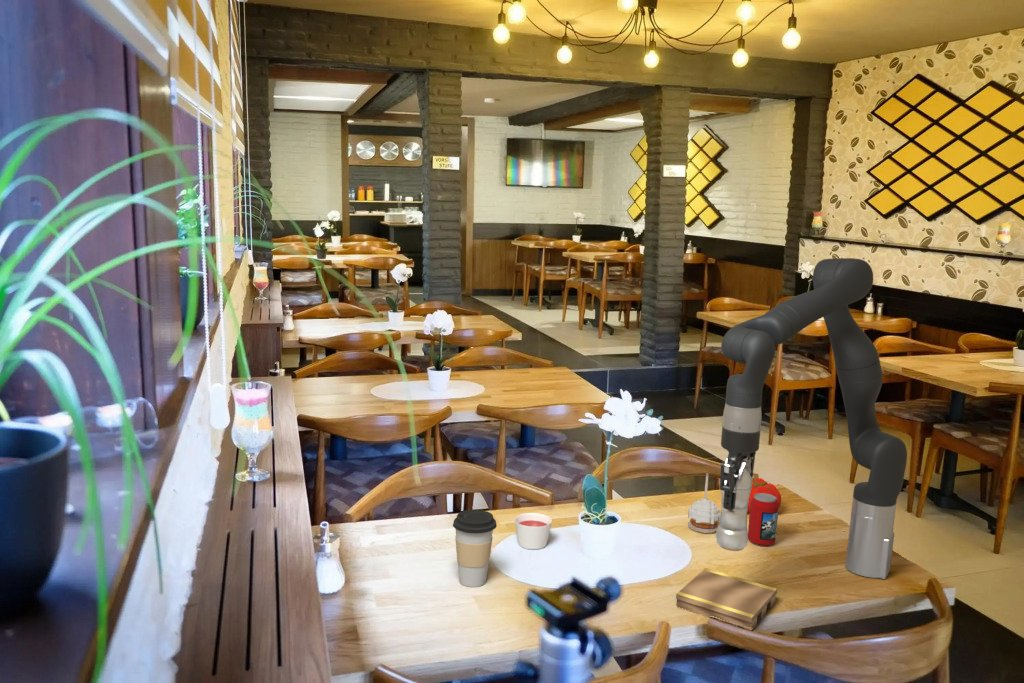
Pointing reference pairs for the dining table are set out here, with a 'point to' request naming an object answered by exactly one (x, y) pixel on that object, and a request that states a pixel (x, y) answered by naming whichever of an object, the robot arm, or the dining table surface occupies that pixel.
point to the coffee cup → (473, 545)
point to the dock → (726, 597)
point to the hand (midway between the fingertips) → (734, 504)
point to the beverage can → (763, 519)
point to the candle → (532, 530)
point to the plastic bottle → (735, 517)
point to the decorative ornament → (704, 514)
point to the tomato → (763, 490)
